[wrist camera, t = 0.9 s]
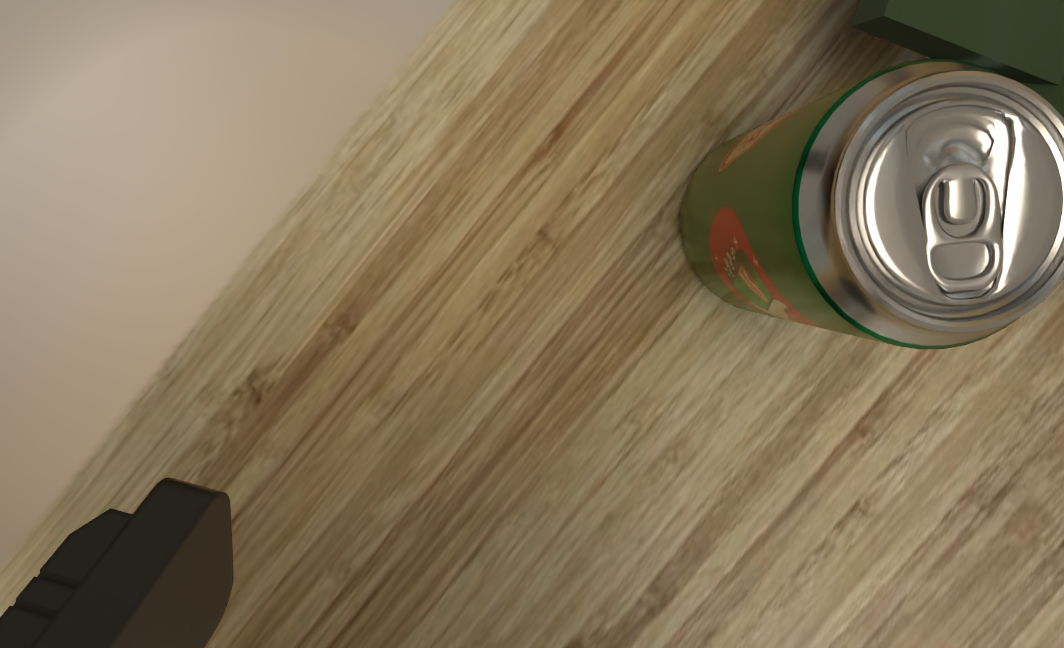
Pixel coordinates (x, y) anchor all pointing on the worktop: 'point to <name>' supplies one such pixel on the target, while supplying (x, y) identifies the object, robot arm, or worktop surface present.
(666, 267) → the worktop surface
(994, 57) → the green angular faceted piece
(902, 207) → the soda can
